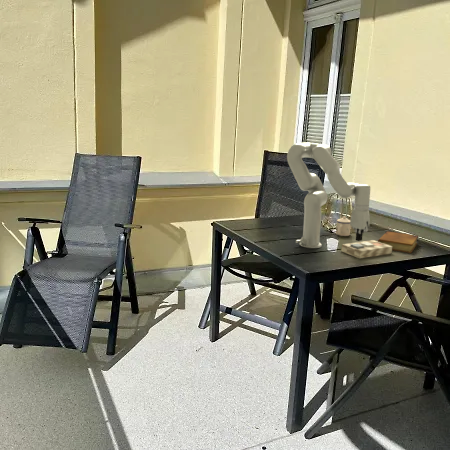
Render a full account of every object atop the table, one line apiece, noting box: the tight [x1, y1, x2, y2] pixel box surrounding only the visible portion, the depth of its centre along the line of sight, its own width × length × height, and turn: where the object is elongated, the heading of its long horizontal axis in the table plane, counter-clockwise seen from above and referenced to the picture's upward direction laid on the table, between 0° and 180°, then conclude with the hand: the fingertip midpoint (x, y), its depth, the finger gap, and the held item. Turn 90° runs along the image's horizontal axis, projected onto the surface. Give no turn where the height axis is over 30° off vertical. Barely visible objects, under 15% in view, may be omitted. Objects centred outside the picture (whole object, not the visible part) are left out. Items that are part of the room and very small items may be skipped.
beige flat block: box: [340, 239, 393, 259], centre depth 246 cm, size 24×14×4 cm, turn 118°
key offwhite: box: [361, 242, 374, 247], centre depth 246 cm, size 5×5×2 cm
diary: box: [377, 230, 419, 254], centre depth 262 cm, size 23×19×6 cm
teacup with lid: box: [335, 216, 352, 237], centre depth 282 cm, size 12×9×12 cm
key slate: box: [351, 243, 364, 249], centre depth 242 cm, size 5×5×2 cm
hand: (358, 240), depth 241 cm, fingers closed
